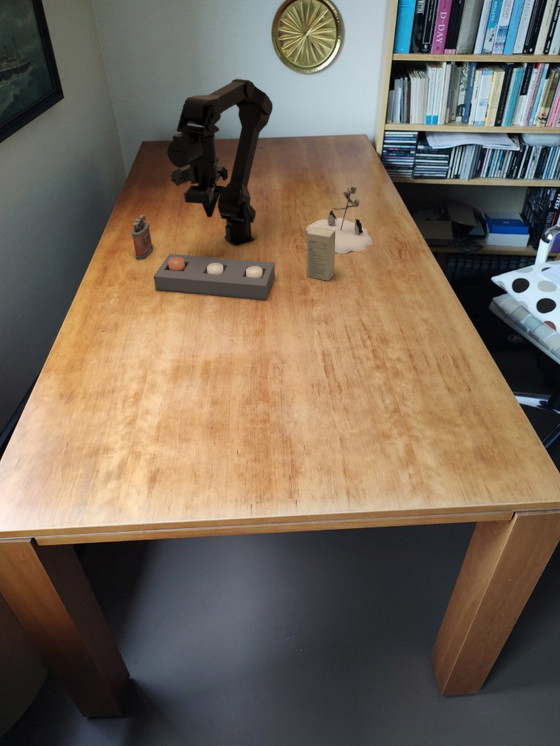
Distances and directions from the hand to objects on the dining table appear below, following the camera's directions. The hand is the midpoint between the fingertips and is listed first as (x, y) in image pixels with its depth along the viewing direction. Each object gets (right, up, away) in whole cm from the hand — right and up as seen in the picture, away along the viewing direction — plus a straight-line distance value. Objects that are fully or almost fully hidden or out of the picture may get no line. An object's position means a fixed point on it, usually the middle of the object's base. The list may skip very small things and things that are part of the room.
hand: (209, 216), depth 142 cm
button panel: (+2, -18, -3) cm, 18 cm away
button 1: (+2, -17, -3) cm, 18 cm away
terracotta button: (-8, -15, -2) cm, 17 cm away
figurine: (+35, -2, +17) cm, 39 cm away
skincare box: (+29, -15, +1) cm, 32 cm away
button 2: (+12, -18, -4) cm, 22 cm away
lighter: (-19, -7, +10) cm, 23 cm away
